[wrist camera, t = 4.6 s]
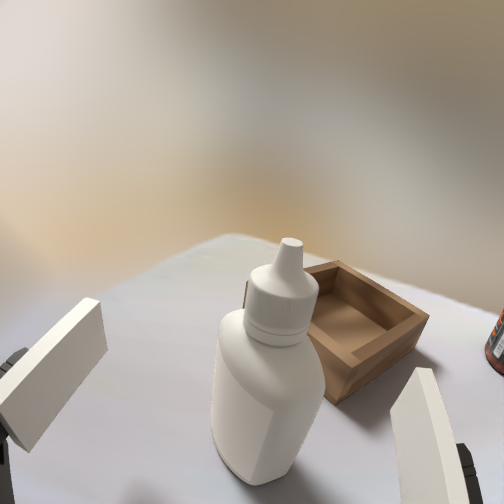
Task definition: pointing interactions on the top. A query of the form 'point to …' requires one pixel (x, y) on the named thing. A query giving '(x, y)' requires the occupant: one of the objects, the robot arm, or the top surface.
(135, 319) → the top surface
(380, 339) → the holder
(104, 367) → the top surface
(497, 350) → the supplement bottle
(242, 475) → the eye dropper bottle
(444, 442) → the robot arm
